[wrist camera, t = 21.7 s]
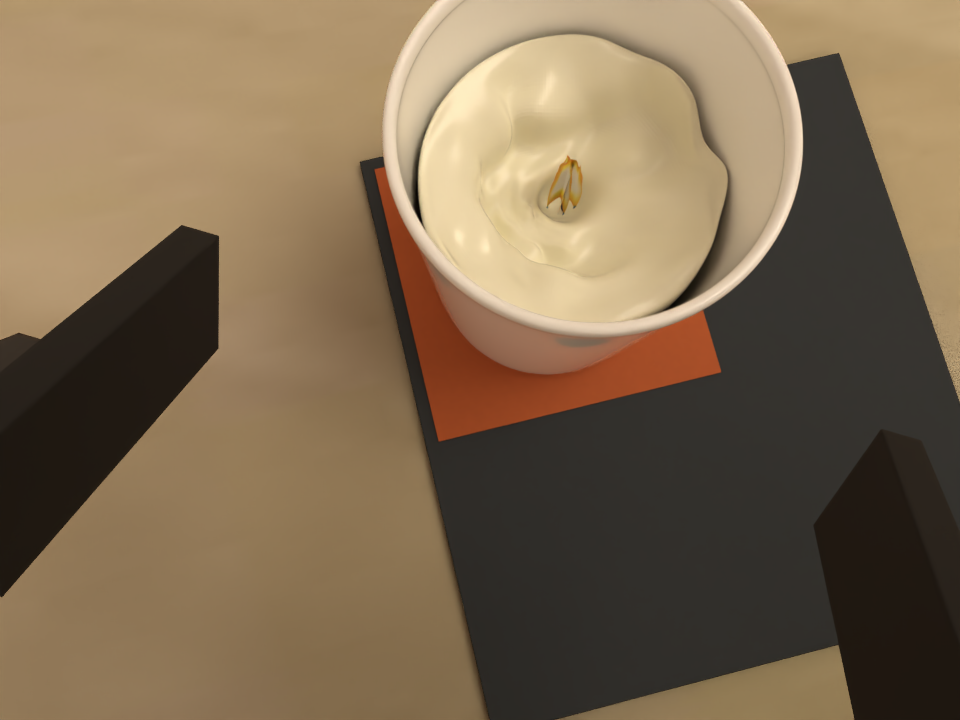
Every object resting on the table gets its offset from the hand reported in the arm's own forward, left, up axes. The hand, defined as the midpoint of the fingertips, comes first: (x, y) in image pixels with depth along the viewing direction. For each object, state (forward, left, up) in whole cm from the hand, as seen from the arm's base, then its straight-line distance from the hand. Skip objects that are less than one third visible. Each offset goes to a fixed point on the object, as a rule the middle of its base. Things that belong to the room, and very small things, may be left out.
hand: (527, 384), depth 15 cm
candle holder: (-3, -6, -14) cm, 15 cm away
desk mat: (-7, -1, -14) cm, 16 cm away
